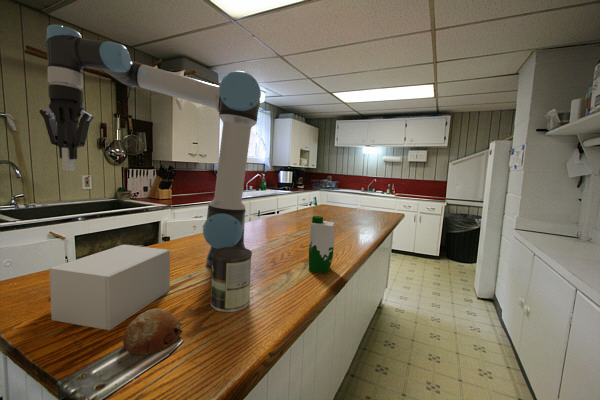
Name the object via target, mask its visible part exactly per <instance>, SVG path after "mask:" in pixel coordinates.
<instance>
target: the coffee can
mask: <svg viewBox="0 0 600 400" xmlns="http://www.w3.org/2000/svg"><path fill="white" fill-rule="evenodd" d="M252 255H253V252H252V250H251V249H249V248H247V247H245V248H242V247H223V248H219V249H216V250H214V251H213V252H212V267H211V292H210V294H211V295H210V307H211V308H212V309H213V310H215V311H218V312H222V313H235V312H239V311H242V310H243V309H246V308H247V307H248V306H249V304H250V292H251V291H250V288H251V286H250V284H251V272H252V271H251V269H252Z"/></svg>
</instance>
